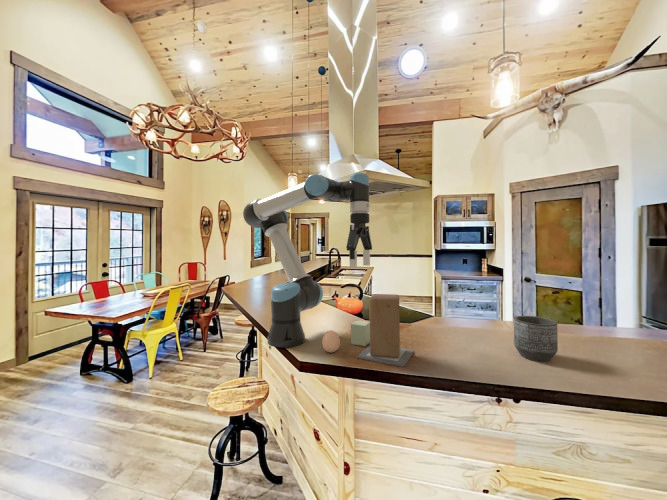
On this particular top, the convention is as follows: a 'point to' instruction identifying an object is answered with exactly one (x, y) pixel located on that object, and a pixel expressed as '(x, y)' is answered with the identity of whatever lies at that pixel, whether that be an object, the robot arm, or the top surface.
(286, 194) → the robot arm
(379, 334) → the wooden block
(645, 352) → the top surface
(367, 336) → the sage block
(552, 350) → the planter
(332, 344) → the egg
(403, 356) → the slate mat
